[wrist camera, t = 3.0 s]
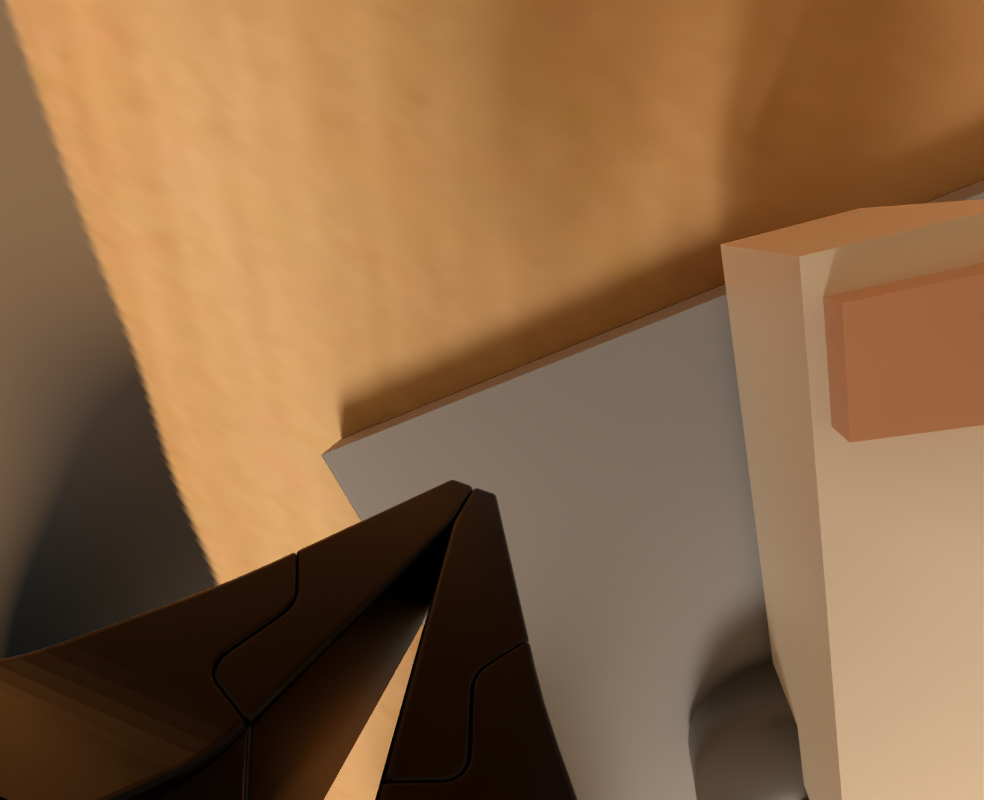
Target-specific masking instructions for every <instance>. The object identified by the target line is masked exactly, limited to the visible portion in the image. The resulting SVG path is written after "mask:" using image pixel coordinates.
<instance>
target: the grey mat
mask: <svg viewBox="0 0 984 800" xmlns="http://www.w3.org/2000/svg"><path fill="white" fill-rule="evenodd" d="M979 199H984V180H981V181H979V182H976V183H974V184H971V185H969V186H966V187H964V188H961V189H959V190H956V191H954V192H951V193H949V194H946V195H944V196H942V197H939V198H937V199H934V200H932V201H929V202H927V203H937V202H951V201H965V200H979ZM322 457H323V459H324V460H325V462H326V464H327V465H328V467H329V469H330V470H331V472H332V474H333V475H334V477H335V479H336V480H337V482H338V484H339V485H340V487H341V489H342V490H343V492H344V494H345V495H346V497H347V499H348V500H349V502H350V504H351V505H352V507H353V508H354V510H355V512H356V513H357V515H358V517H359V518H360V520H361V521H363V520H365V519H368V518H370V517H372V516H374V515H376V514H378V513H381V512H383V511H385V510H387V509H389V508H391V507H393V506H396V505H398V504H400V503H402V502H404V501H406V500H409V499H411V498H413V497H415V496H417V495H419V494H421V493H424V492H426V491H428V490H430V489H432V488H434V487H437V486H439V485H441V484H443V483H445V482H447V481H450V480H456V481H458V482H461V483H464V484H467V485H470V486H471V487H472V489H475V488H479V489H482V490H485V491H487V492H490V493H493V494H495V495H496V497H497V501H498V506H499V510H500V515H501V519H502V523H503V528H504V532H505V537H506V541H507V545H508V550H509V554H510V559H511V563H512V568H513V572H514V576H515V581H516V585H517V590H518V594H519V598H520V603H521V607H522V612H523V616H524V620H525V625H526V629H527V634H528V638H529V642H528V643H529V644H530V646H531V650H532V655H533V659H534V663H535V668H536V672H537V676H538V679H539V683H540V687H541V691H542V695H543V698H544V702H545V706H546V709H547V712H548V715H549V718H550V721H551V724H552V727H553V730H554V733H555V736H556V739H557V742H558V745H559V748H560V751H561V754H562V757H563V760H564V763H565V765H566V768H567V771H568V774H569V777H570V779H571V782H572V785H573V788H574V791H575V793H576V796H577V799H578V800H697V798H696V791H695V785H694V779H693V773H692V766H691V760H690V754H689V746H688V735H689V728H690V725H691V721H692V718H693V716H694V714H695V713H696V711H697V709H698V707H699V706H700V705H701V703H702V702H703V701H704V700H705V698H706V697H707V696H708V695H709V694H710V693H712V692H713V691H714V690H715V689H716V688H717V687H719V686H720V685H722V684H723V683H725V682H726V681H728V680H729V679H731V678H733V677H735V676H737V675H739V674H741V673H743V672H745V671H748V670H750V669H753V668H756V667H759V666H762V665H765V664H769V663H773V660H772V652H771V644H770V636H769V628H768V620H767V612H766V604H765V596H764V588H763V580H762V572H761V564H760V557H759V549H758V541H757V533H756V525H755V517H754V509H753V501H752V493H751V485H750V477H749V469H748V461H747V453H746V445H745V437H744V429H743V421H742V413H741V405H740V398H739V390H738V382H737V374H736V366H735V358H734V350H733V342H732V334H731V326H730V318H729V310H728V302H727V294H726V286H725V284H724V285H721V286H719V287H716V288H714V289H712V290H709V291H707V292H704V293H702V294H699V295H697V296H694V297H692V298H689V299H687V300H684V301H682V302H679V303H677V304H674V305H672V306H669V307H667V308H665V309H662V310H660V311H657V312H655V313H652V314H650V315H647V316H645V317H642V318H640V319H637V320H635V321H632V322H630V323H627V324H625V325H622V326H620V327H618V328H615V329H613V330H610V331H608V332H605V333H603V334H600V335H598V336H595V337H593V338H590V339H588V340H585V341H583V342H580V343H578V344H575V345H573V346H571V347H568V348H566V349H563V350H561V351H558V352H556V353H553V354H551V355H548V356H546V357H543V358H541V359H538V360H536V361H533V362H531V363H529V364H526V365H524V366H521V367H519V368H516V369H514V370H511V371H509V372H506V373H504V374H501V375H499V376H496V377H494V378H491V379H489V380H486V381H484V382H482V383H479V384H477V385H474V386H472V387H469V388H467V389H464V390H462V391H459V392H457V393H454V394H452V395H449V396H447V397H444V398H442V399H439V400H437V401H435V402H432V403H430V404H427V405H425V406H422V407H420V408H417V409H415V410H412V411H410V412H407V413H405V414H402V415H400V416H397V417H395V418H392V419H390V420H388V421H385V422H383V423H380V424H378V425H375V426H373V427H370V428H368V429H365V430H363V431H360V432H358V433H355V434H353V435H350V436H348V437H345V438H343V439H341V440H339V441H338V442H337V443H335V444H334V445H333V446H332V447H330V448H329V449H328V450H327V451H326V452H324V453H323V454H322ZM426 617H427V615H426ZM426 617H425V619H424V621H423V625H424V624H425V620H426Z"/></svg>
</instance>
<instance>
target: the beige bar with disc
mask: <svg viewBox="0 0 984 800" xmlns="http://www.w3.org/2000/svg"><path fill="white" fill-rule="evenodd" d="M720 246H721V254H722V262H723V270H724V278H725V286H726V294H727V302H728V310H729V318H730V326H731V334H732V342H733V350H734V358H735V366H736V374H737V382H738V390H739V398H740V405H741V413H742V421H743V429H744V437H745V445H746V453H747V461H748V469H749V477H750V485H751V493H752V501H753V509H754V517H755V525H756V533H757V541H758V549H759V557H760V564H761V572H762V580H763V588H764V596H765V604H766V612H767V620H768V628H769V636H770V644H771V652H772V660H773V663H769V664H765V665H762V666H759V667H756V668H753V669H750V670H748V671H745V672H743V673H741V674H739V675H737V676H735V677H733V678H731V679H729V680H728V681H726V682H725V683H723V684H722V685H720V686H719V687H717V688H716V689H715V690H714V691H713V692H712V693H710V694H709V695H708V696H707V697H706V698H705V700H704V701H703V702H702V703H701V705H700V706H699V707H698V709H697V711H696V713H695V714H694V716H693V718H692V721H691V725H690V728H689V735H688V746H689V754H690V760H691V766H692V773H693V779H694V785H695V791H696V798H697V800H984V199H979V200H965V201H951V202H937V203H923V204H909V205H896V206H882V207H868V208H858V209H854V210H851V211H847V212H843V213H839V214H835V215H831V216H827V217H824V218H820V219H816V220H812V221H808V222H804V223H801V224H797V225H793V226H789V227H785V228H781V229H777V230H774V231H770V232H766V233H762V234H758V235H754V236H750V237H747V238H743V239H739V240H735V241H731V242H727V243H724V244H720Z"/></svg>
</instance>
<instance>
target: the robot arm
mask: <svg viewBox="0 0 984 800" xmlns="http://www.w3.org/2000/svg"><path fill="white" fill-rule="evenodd" d="M426 615H427V617H426ZM425 617H426V620H425V624H424V627H423V631H422V634H421V638H420V642H419V645H418V649H417V652H416V656H415V659H414V663H413V667H412V670H411V674H410V677H409V681H408V684H407V688H406V692H405V695H404V699H403V702H402V706H401V709H400V713H399V717H398V720H397V724H396V727H395V731H394V734H393V738H392V742H391V745H390V749H389V752H388V756H387V759H386V763H385V767H384V770H383V774H382V777H381V781H380V785H379V789H378V792H377V795H376V799H375V800H578V799H577V796H576V793H575V791H574V788H573V785H572V782H571V779H570V777H569V774H568V771H567V768H566V765H565V763H564V760H563V757H562V754H561V751H560V748H559V745H558V742H557V739H556V736H555V733H554V730H553V727H552V724H551V721H550V718H549V715H548V712H547V709H546V706H545V702H544V698H543V695H542V691H541V687H540V683H539V679H538V676H537V672H536V668H535V663H534V659H533V655H532V650H531V646H530V644H529V643H528V642H529V638H528V634H527V629H526V625H525V620H524V616H523V612H522V607H521V603H520V598H519V594H518V590H517V585H516V581H515V576H514V572H513V568H512V563H511V559H510V554H509V550H508V545H507V541H506V537H505V532H504V528H503V523H502V519H501V515H500V510H499V506H498V501H497V497H496V495H495V494H493V493H490V492H487V491H485V490H482V489H479V488H475V489H472V487H471V486H470V485H467V484H464V483H461V482H458V481H456V480H450V481H447V482H445V483H443V484H441V485H439V486H437V487H434V488H432V489H430V490H428V491H426V492H424V493H421V494H419V495H417V496H415V497H413V498H411V499H409V500H406V501H404V502H402V503H400V504H398V505H396V506H393V507H391V508H389V509H387V510H385V511H383V512H381V513H378V514H376V515H374V516H372V517H370V518H368V519H365V520H363V521H361V522H359V523H357V524H355V525H353V526H350V527H348V528H346V529H344V530H342V531H340V532H337V533H335V534H333V535H331V536H329V537H327V538H325V539H322V540H320V541H318V542H316V543H314V544H312V545H309V546H307V547H305V548H303V549H301V550H299V551H298V552H297V555H296V554H295V553H292V554H290V555H287V556H285V557H283V558H281V559H279V560H277V561H275V562H272V563H270V564H268V565H266V566H263V567H261V568H259V569H256V570H254V571H252V572H250V573H247V574H245V575H243V576H240V577H238V578H236V579H233V580H231V581H228V582H226V583H223V584H221V585H218V586H215V587H213V588H210V589H208V590H205V591H202V592H200V593H197V594H195V595H192V596H190V597H187V598H184V599H181V600H179V601H176V602H173V603H170V604H168V605H165V606H162V607H159V608H157V609H154V610H151V611H148V612H146V613H143V614H140V615H137V616H135V617H132V618H129V619H126V620H124V621H121V622H118V623H116V624H113V625H110V626H107V627H104V628H102V629H99V630H96V631H93V632H91V633H88V634H85V635H82V636H80V637H77V638H74V639H71V640H69V641H66V642H63V643H60V644H57V645H54V646H51V647H48V648H45V649H42V650H38V651H35V652H31V653H27V654H23V655H20V656H15V657H11V658H5V659H1V660H0V800H324V798H325V796H326V794H327V793H328V791H329V789H330V787H331V785H332V784H333V782H334V780H335V778H336V777H337V775H338V773H339V771H340V769H341V768H342V766H343V764H344V762H345V760H346V759H347V757H348V755H349V753H350V751H351V750H352V748H353V746H354V744H355V743H356V741H357V739H358V737H359V735H360V734H361V732H362V730H363V728H364V726H365V725H366V723H367V721H368V719H369V718H370V716H371V714H372V712H373V710H374V709H375V707H376V705H377V703H378V701H379V700H380V698H381V696H382V694H383V692H384V691H385V689H386V687H387V685H388V684H389V682H390V680H391V678H392V676H393V675H394V673H395V671H396V669H397V667H398V666H399V664H400V662H401V660H402V659H403V657H404V655H405V653H406V651H407V650H408V648H409V646H410V644H411V642H412V641H413V639H414V637H415V635H416V633H417V632H418V630H419V628H420V626H421V625H422V623H423V621H424V619H425Z"/></svg>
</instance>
